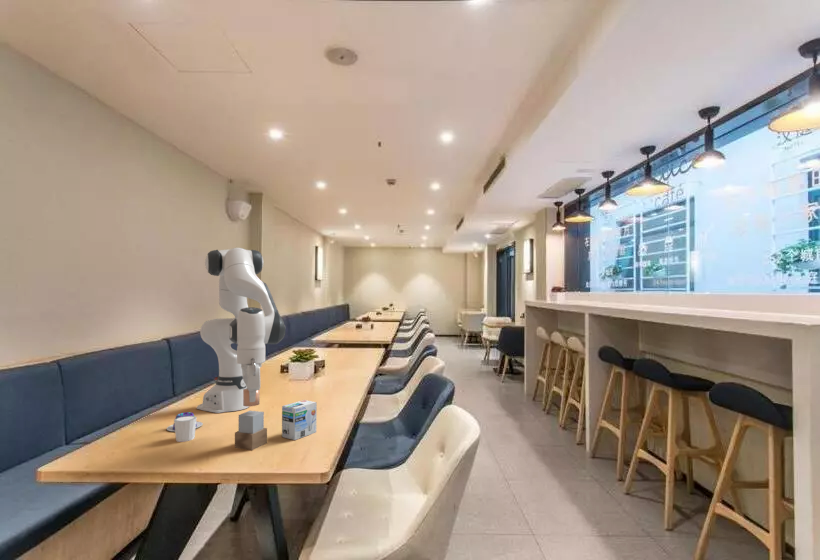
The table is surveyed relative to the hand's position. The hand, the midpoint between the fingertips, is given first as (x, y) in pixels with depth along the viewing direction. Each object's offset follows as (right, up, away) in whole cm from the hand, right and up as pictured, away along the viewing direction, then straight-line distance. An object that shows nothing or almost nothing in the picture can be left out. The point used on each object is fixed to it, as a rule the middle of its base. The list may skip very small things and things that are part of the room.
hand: (251, 399), depth 141 cm
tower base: (0, -15, -1) cm, 15 cm away
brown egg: (0, -2, 0) cm, 2 cm away
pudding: (-32, -16, +20) cm, 41 cm away
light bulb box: (+13, -15, +10) cm, 23 cm away
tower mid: (0, -10, 0) cm, 10 cm away
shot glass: (-25, -16, +6) cm, 30 cm away
